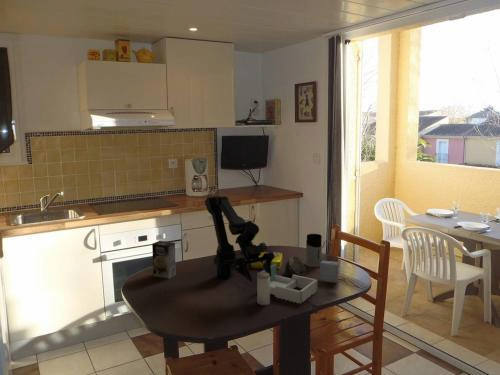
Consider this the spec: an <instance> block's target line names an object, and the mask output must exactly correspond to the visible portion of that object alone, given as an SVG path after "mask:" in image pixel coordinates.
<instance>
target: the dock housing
mask: <svg viewBox="0 0 500 375" xmlns="http://www.w3.org/2000/svg"><path fill="white" fill-rule="evenodd" d="M291 279H295V280H297V281H296V287H295V288H300V290H298V289H295V288H294V289H290V288H285V287H281V286H277V285H276V286H275V295H274V297H277V298H276V299H279V298H281V299H280V300H283V299H285V300H284V301H287V300H289V301H288V302H291V301H292V302H291V303H295V302H296V303H295V304H299V303H300V304H299V305H301V304H303V303H304V302H305V301H306V300H308V299H309V298H311V295H312V296H313V295H314V294H315V293H317V292H318V289H319V288H318V286H319V282H318V279H317V278H311V277H305V276H298V275H295V274H293V275H291ZM307 298H308V299H307ZM302 302H303V303H302Z"/></svg>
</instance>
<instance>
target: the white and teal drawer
mask: <svg viewBox="0 0 500 375" xmlns="http://www.w3.org/2000/svg"><path fill="white" fill-rule="evenodd" d="M261 272H266V271H265V270H264V269H263V270H261V271H260V272H258V273H261ZM258 273H257V274H256V277H257V276H258ZM296 281H297V280H295V279H292V277H291V278H289V277H286V276H281V275H277V269H276V264H274V265H272V266H271V277H270V295H274V296H275V286H276V285H277V286H281V287H285V288H290V289H294V290H295V289H296V288H297V287H296Z"/></svg>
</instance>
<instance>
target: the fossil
mask: <svg viewBox="0 0 500 375" xmlns="http://www.w3.org/2000/svg"><path fill="white" fill-rule="evenodd" d="M284 266H285V267H284V268H285V272H284V275H285V276H289V275H291V276H292V275H298V276H302V277H305V275H306V273H307V268H306V267H307V266H306V264H305V265H304V263H303V262H302V260H300V259H299V257H298V256H295V255H294V256H291V257H289V259H288V260H287V262H285V265H284Z"/></svg>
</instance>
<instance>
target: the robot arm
mask: <svg viewBox="0 0 500 375" xmlns="http://www.w3.org/2000/svg"><path fill="white" fill-rule="evenodd" d="M204 205H205V207H206V210H207V212H208V213H209V214H210V215H211V217H212V222H213V226H214V230H215V237H216V239H217V248H216V255H215V256H214V258H213V263H214V264H213V265H216V275H215V278H217V279H222V280H223V279H224V280H229V279H230V278H231V277H233V276H234V273H233V272H235V273H239V274H240V275H242V276H243V277H244V278H246V279H247V281H249V283H252V282H253V278H252V276H251V274H250V272H249V269H248V265H251V264H252V263H257V262H261V263H262V264H263V268H264V269H263V270H265V271H266V273H269V274H270V277H271V262H272V260H273V259H274V258H275V255H274V253H275V252H274V253H272V251H269V252H268V253H264V255H263V256H262V257H259V256H260V255H261V253H262V252H265V251H266V250H267V249H268V248H267V245H266V243H265V242H264V241H263V242H260V243H259V244H258V245H256V244H254V243H253V240H254V239H255V238H256V237H257V236H258V234H259V231H260V228H259V225H257V224H256V223H254V222H252V220H247V221H246V220H245V218H243V217H241V216H239V214H237V212H236V211H235V209H234V207H233V206H232V204H231V203H230V201H229V198H228V196H226V195H224V196H221V195H215V196H207V198H206V199H205V200H204ZM223 215H224V217H225V218H226V220H227V222H228V230H229V233H231V235H233V236H236V239H235V244H238V246H239V249H240V251H241V252H240V254H241V256H243V257H239V258H236V257H237V255H236V252H235V247H234V245H233V244H230V242H229V240H228V235H227V231H226V225H225V221H224V217H223Z"/></svg>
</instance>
